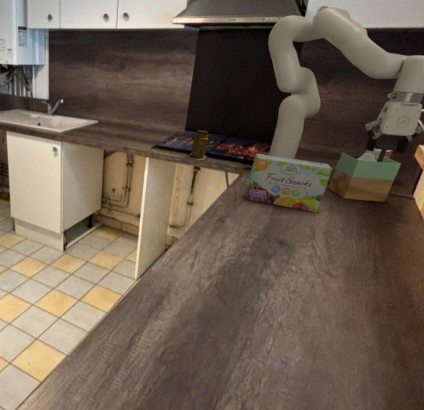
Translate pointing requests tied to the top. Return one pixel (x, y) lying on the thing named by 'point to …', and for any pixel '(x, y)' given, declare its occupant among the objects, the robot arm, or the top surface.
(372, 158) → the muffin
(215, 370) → the top surface
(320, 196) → the snack box
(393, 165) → the block
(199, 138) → the condiment
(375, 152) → the small box
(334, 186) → the stand
